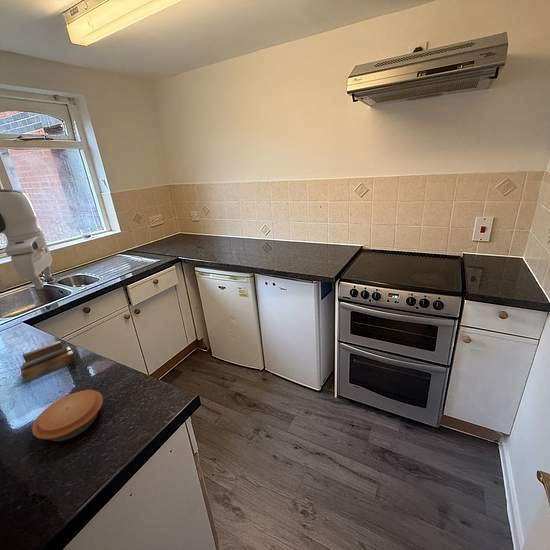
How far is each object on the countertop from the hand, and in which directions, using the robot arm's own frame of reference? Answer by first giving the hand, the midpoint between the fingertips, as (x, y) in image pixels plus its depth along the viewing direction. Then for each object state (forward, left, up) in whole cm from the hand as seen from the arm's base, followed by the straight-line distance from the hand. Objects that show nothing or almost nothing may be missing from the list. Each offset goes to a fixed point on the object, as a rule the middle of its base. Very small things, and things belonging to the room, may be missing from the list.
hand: (44, 283), depth 98 cm
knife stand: (-5, -7, -28) cm, 29 cm away
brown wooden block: (-5, -7, -27) cm, 28 cm away
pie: (+7, -37, -28) cm, 47 cm away
